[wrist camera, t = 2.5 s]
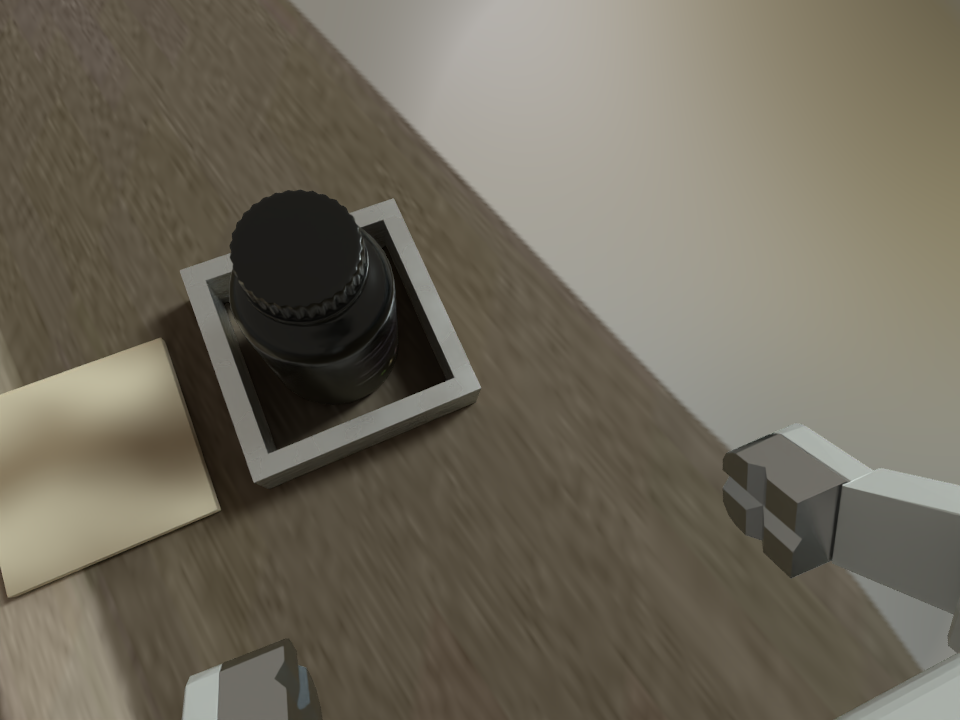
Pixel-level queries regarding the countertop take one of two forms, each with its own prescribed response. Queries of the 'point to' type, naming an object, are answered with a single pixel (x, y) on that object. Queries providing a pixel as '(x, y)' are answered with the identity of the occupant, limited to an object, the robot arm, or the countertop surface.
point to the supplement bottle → (314, 296)
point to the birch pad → (96, 466)
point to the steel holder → (297, 459)
